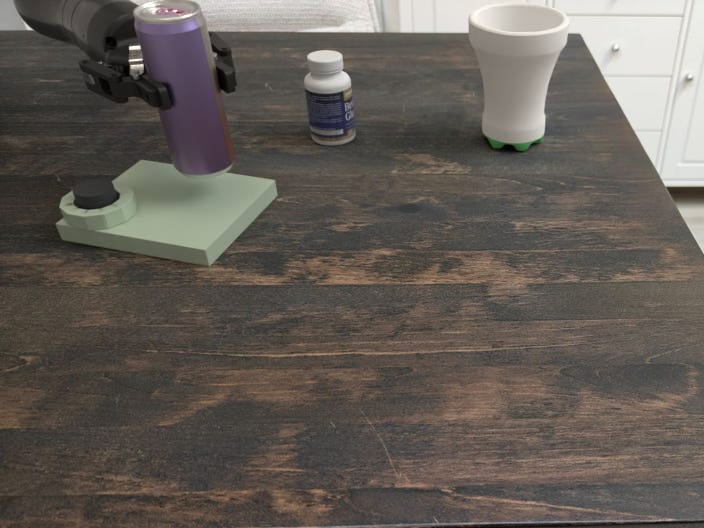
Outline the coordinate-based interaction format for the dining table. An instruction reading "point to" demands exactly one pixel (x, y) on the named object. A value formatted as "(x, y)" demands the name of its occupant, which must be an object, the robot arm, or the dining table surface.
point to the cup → (516, 67)
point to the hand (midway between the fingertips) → (198, 90)
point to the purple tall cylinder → (186, 86)
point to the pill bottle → (329, 99)
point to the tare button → (95, 194)
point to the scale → (169, 213)
